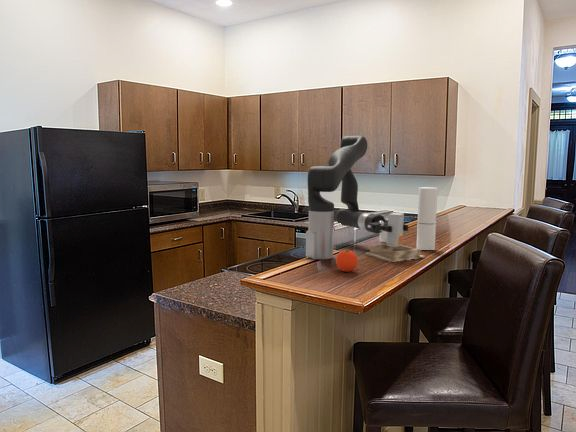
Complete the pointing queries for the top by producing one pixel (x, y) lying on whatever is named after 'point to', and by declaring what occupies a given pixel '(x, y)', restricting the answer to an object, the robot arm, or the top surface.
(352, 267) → the clementine
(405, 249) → the tray
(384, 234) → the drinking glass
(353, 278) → the top surface
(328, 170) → the robot arm
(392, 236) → the skincare box
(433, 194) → the cylindrical container
